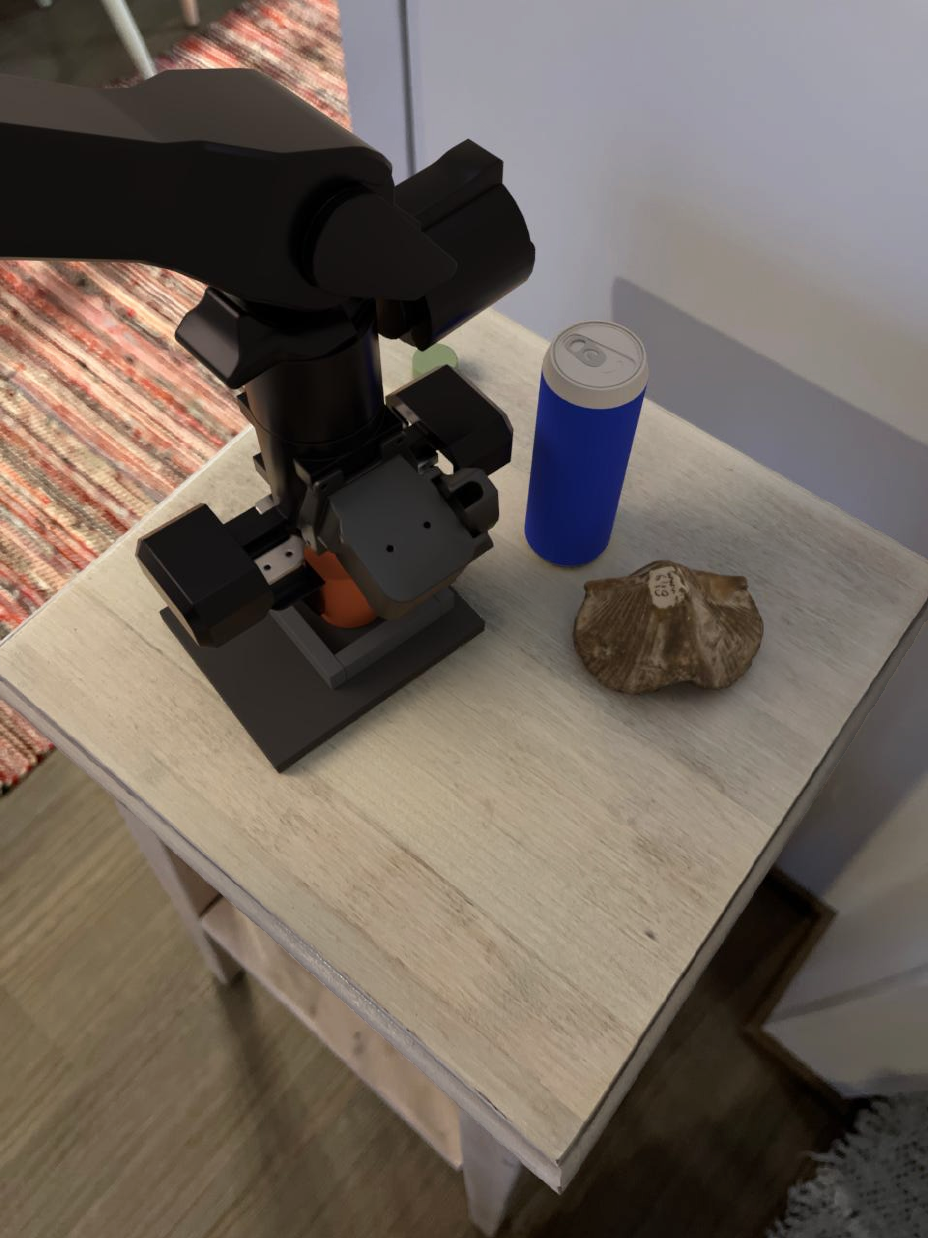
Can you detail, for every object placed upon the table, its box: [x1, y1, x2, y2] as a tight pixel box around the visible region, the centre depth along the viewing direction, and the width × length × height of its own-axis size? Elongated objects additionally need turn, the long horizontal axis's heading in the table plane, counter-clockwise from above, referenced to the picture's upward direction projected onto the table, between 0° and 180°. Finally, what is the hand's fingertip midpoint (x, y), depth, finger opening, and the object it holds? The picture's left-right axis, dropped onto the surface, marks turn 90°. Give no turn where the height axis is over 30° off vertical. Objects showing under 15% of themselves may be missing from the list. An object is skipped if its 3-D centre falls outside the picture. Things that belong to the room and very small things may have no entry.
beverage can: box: [523, 319, 650, 567], centre depth 53 cm, size 5×5×15 cm
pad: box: [411, 342, 459, 380], centre depth 66 cm, size 3×3×2 cm
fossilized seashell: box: [571, 559, 765, 696], centre depth 54 cm, size 8×7×10 cm
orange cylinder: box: [305, 546, 378, 628], centre depth 54 cm, size 4×4×5 cm
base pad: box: [158, 551, 486, 774], centre depth 56 cm, size 14×12×2 cm
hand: (348, 588), depth 55 cm, fingers closed on orange cylinder, 4 cm apart
